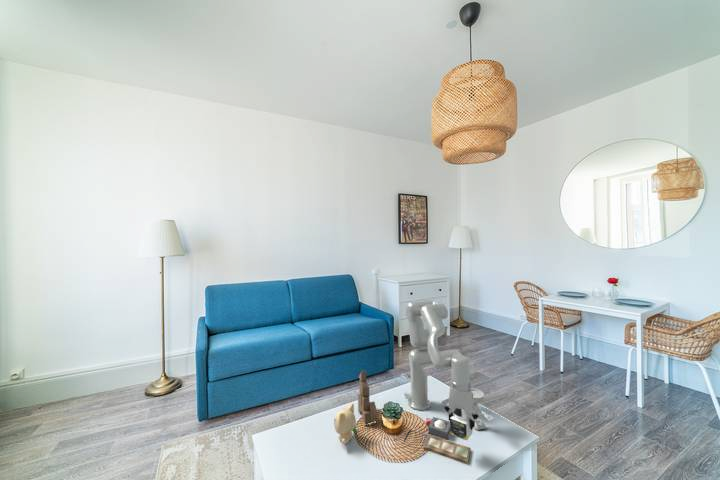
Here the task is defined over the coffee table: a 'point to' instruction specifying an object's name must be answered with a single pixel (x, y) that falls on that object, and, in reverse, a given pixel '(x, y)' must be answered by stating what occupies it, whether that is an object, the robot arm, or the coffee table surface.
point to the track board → (448, 449)
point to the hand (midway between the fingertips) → (461, 424)
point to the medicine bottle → (460, 424)
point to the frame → (426, 440)
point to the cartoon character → (477, 399)
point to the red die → (428, 421)
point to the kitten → (345, 424)
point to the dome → (440, 424)
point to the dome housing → (438, 431)
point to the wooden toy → (365, 401)
